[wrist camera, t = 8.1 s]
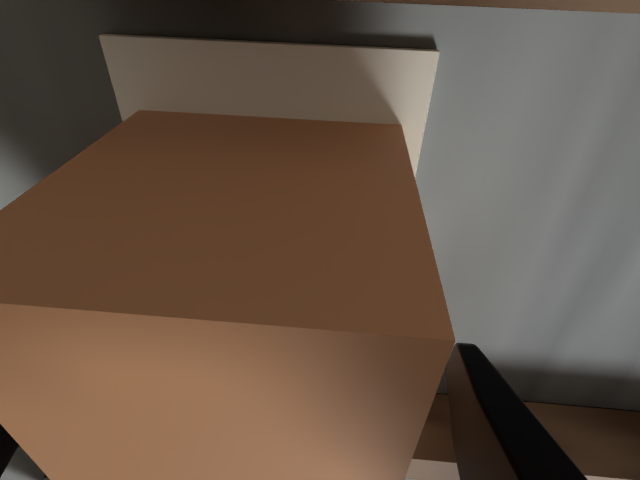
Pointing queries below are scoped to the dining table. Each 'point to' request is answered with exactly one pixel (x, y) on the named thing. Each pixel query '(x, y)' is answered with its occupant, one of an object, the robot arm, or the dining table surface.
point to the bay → (364, 107)
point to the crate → (222, 304)
